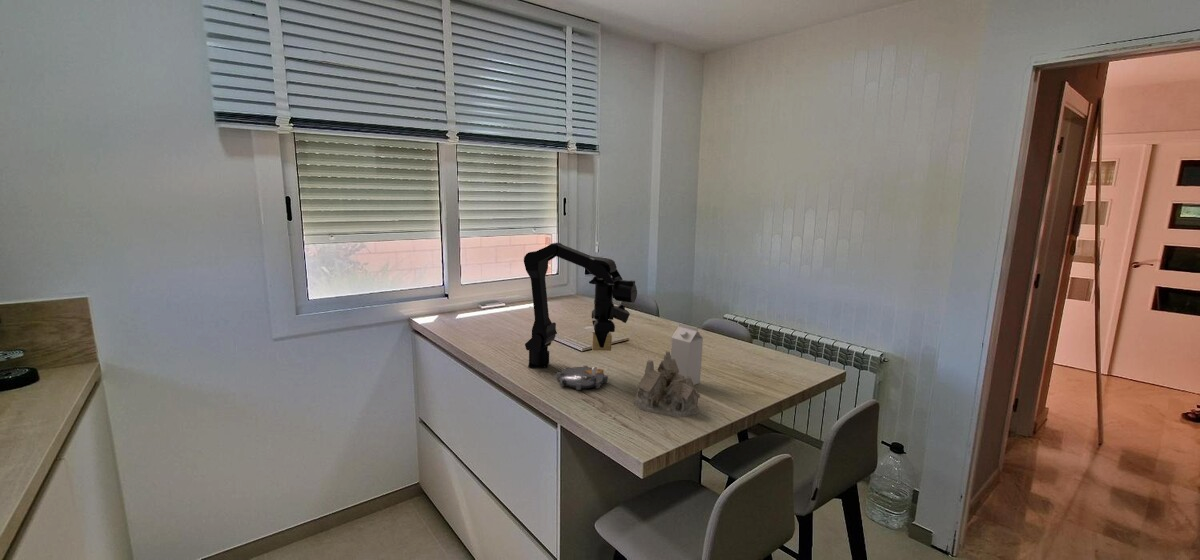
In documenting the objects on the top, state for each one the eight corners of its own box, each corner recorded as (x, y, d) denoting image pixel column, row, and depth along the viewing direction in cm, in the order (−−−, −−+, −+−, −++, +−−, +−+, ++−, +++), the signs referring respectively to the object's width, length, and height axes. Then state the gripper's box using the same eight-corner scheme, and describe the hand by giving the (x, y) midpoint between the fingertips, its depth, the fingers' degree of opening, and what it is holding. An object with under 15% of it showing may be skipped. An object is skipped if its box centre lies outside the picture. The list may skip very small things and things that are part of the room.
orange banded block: (592, 350, 153) (593, 335, 152) (591, 346, 156) (592, 332, 155) (611, 350, 153) (611, 335, 152) (610, 347, 157) (610, 332, 156)
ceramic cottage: (627, 398, 139) (632, 350, 136) (675, 393, 146) (681, 347, 143) (653, 425, 125) (659, 372, 122) (704, 418, 132) (712, 367, 129)
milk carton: (682, 377, 158) (685, 321, 155) (700, 383, 153) (704, 326, 150) (668, 382, 153) (672, 325, 150) (687, 388, 148) (690, 329, 145)
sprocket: (576, 394, 140) (577, 375, 139) (546, 377, 153) (546, 360, 152) (618, 382, 150) (619, 364, 149) (586, 367, 163) (587, 351, 162)
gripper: (632, 306, 143) (629, 355, 146) (625, 293, 162) (622, 337, 164) (595, 305, 142) (593, 354, 145) (592, 292, 161) (590, 337, 164)
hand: (601, 345), depth 155 cm, fingers closed on orange banded block, 3 cm apart
